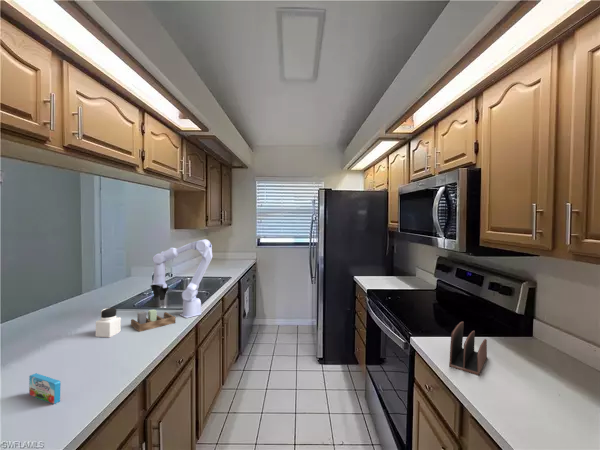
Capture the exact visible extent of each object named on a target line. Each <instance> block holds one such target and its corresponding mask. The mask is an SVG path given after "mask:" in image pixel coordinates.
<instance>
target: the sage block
mask: <svg viewBox="0 0 600 450" xmlns="http://www.w3.org/2000/svg"><path fill="white" fill-rule="evenodd" d="M147 313H148V314H147V319H149V320H151V321H156V319H157V316H158V311H157V310H156V309H150V310H147Z"/></svg>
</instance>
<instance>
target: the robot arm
mask: <svg viewBox="0 0 600 450" xmlns="http://www.w3.org/2000/svg"><path fill="white" fill-rule="evenodd" d="M212 248H213V245H212V243H211V241H210V240H208V239H206V238H204V239H199V240H196V241H191V242H189V243H187V244H185V245H182V246H179V247H177V248H176V247H173V246H172V247H169V248H168V249H166V250H162V251H161V252H160V253H156V254H155V255H153V257H152V262H153V264H154V266H153V269H154V270H153V280H152V282H151V285H150V288H151V290H152V294H153V297H154V299H155V298H156V299H157V298H159V300H160V301H163V300H165V298H166V294H167V292H168V290H169V286H168V284H167V283H166V262H169V261H170V260H174V259H176V258H178V257H179V255H180V254H182V253H184V252H187V251H190V250H194V251H198V252H199V254H200V255H201V260H200V262H199V264H198V266H197V268H196V270H195V272H194V274H193V276H192V278H191V280H190V282H189V283H188V285H187V286H186V288H185V289H184V290H183V291H182V293H181V298H182V313H180V314H179V315H180V317H183V318H185V319H187V318H188V319H189V318H192V317H197V316H200V315H202V302H201V299H200V298H199V297H197V295H198V292H199V291H198V290H199V287H200V284H201V281H202V279H203V278H204V275H205V273H206V271H207V270H208V268H209V266H210V263H211V261H212V259H213V249H212Z"/></svg>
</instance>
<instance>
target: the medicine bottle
mask: <svg viewBox="0 0 600 450" xmlns="http://www.w3.org/2000/svg"><path fill="white" fill-rule="evenodd" d="M121 323H122V318H121V316H120V317H118V316H117V308H115V307H107V308H104V309H102V310H101V311H100V319H99V320H96V321H95V337H96V338H112V337H114V336H115V335H117V334H119V333H121V331H122V330H121V326H122V324H121Z"/></svg>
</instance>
